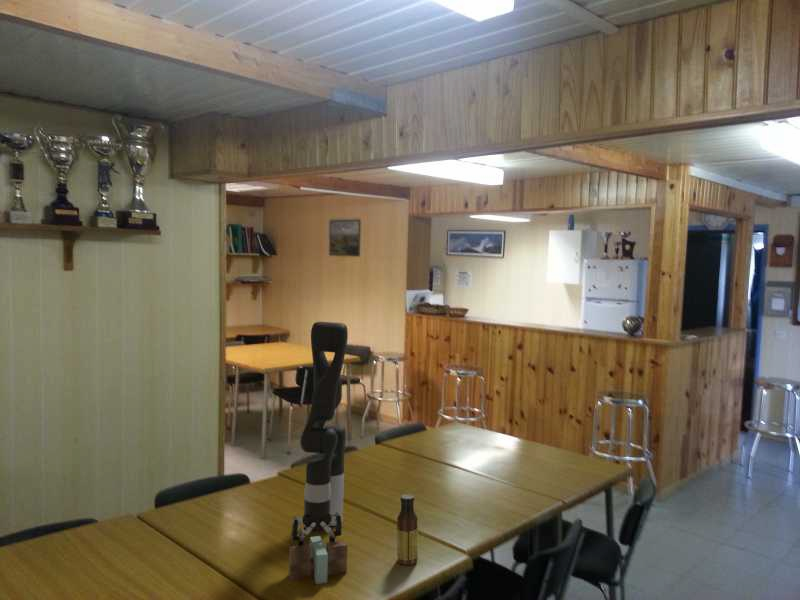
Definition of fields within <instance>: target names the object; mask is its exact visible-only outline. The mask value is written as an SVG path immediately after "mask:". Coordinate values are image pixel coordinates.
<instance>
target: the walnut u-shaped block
mask: <svg viewBox="0 0 800 600" xmlns="http://www.w3.org/2000/svg"><path fill="white" fill-rule="evenodd" d="M325 545H326V546H325V549H326V551H327V554H328V566H327V576H330V575H338V574H340V575H341V574H345V573H346V574H347V572H348V543H347V541H345V540H340V541H335V542H329V541H328V542H326V543H325ZM288 563H289V565H288V569H289V570H288V571H289V572H288V575H289V578H290V580H297V579H307V578H312V577H313V578H314V561H313V558H311V548H310V544H304V545H300V546H298V545H292V546H289V560H288Z"/></svg>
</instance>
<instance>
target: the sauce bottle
mask: <svg viewBox="0 0 800 600" xmlns="http://www.w3.org/2000/svg"><path fill="white" fill-rule="evenodd" d="M414 502H415V497H414V495H413V494H410V493H409V494H406V493H405V494H402V495H401V496H400V505H401V506H400V507H401V508H400V512H399V513H398V515H397V518H396V519H397V520H396V521H397V525H396V554H397V562H398V563H399V564H401V565H404V564H405V566H411V565H415V564H417V563H418V556H419V532H418V531H419V530H418V529H419V527H418V516H417V515H416V513H415V510H414V505H415V504H414Z"/></svg>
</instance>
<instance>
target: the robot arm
mask: <svg viewBox="0 0 800 600" xmlns="http://www.w3.org/2000/svg"><path fill="white" fill-rule="evenodd" d="M348 332H349V331H348V327H347V325H346V324H345V323H343V322H333V321H332V322H329V321H316V322H314V323H313V324H312V326H311V330H310V346H311V356H312V367H313V373H312V374H313V379H312V381H313V383H312V385H313V386H312V387H313V388H312V389H313V391H312V395H311V405H310V412H309V416H308V419H307V422H306V424H305V426H304V429H303V430H302V433H301V436H300V447H301V450H302V451H304V452H305V453H309V454H310V453H312V454H313V453H314V454H323V456H322V457H321V458H315V459H311V460H309V461H308V462H307V463H306V468H305V486H304V498H303V499H304V503H303V504H304V505H303V506H304V509H303V516H302V517H297V516H293V517H292V522H291V523H292V525H291V534H290V536H291V540H292V541H297V546H300V545H305V544H304V543H305V542H304V539H305V538H306V537H308V536H309V534H310V533H312V534H313V533H317V532H318V533H322V532H323V531H326V533H327V534H328V535H329V536H328V543H329V542H336V537H338V536H339V537H340V536H342V522H343V519H344V518H343V516H344V490H345V489H344V488H345V486H344V482H345V480H344V479H345V453H346V452H345V451H346V442H347V441H346V440H347V433H346V432H347V431H346V428H345V426H343V425H333V424H332V425H330V424H329V425H328V424H327V425H325V424H326V422H329V421H332V420H333V419H334V417H335V411H336V409H337V408H338V407H339V405H340V403H341V402H342V397H343V386H342V385H343V383H342V379H341V373H342V370H343V365H344V362H345V361H344V360H345V356H346V351H347V346H348V339H349V334H348ZM325 353H334V355H333V359H332V361H331V363H330V362H329V361H328V359H327V356H326V354H325ZM301 523H303V527H302V528H301V530H300V532H299V533H298V528H299V526H301ZM331 527H335V530H332V528H331Z"/></svg>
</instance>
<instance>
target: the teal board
mask: <svg viewBox="0 0 800 600" xmlns="http://www.w3.org/2000/svg"><path fill="white" fill-rule="evenodd" d="M309 545H310V548H311V558H313V561H314V577H313V579H314V582H315V584H316V585H319V584H326V583H327V584H328V575H327V566H328V554H327V551H326V546H325V545H324V542H323V539H322V537H321V535H317V536H315V535H314V536H310V537H309Z"/></svg>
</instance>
